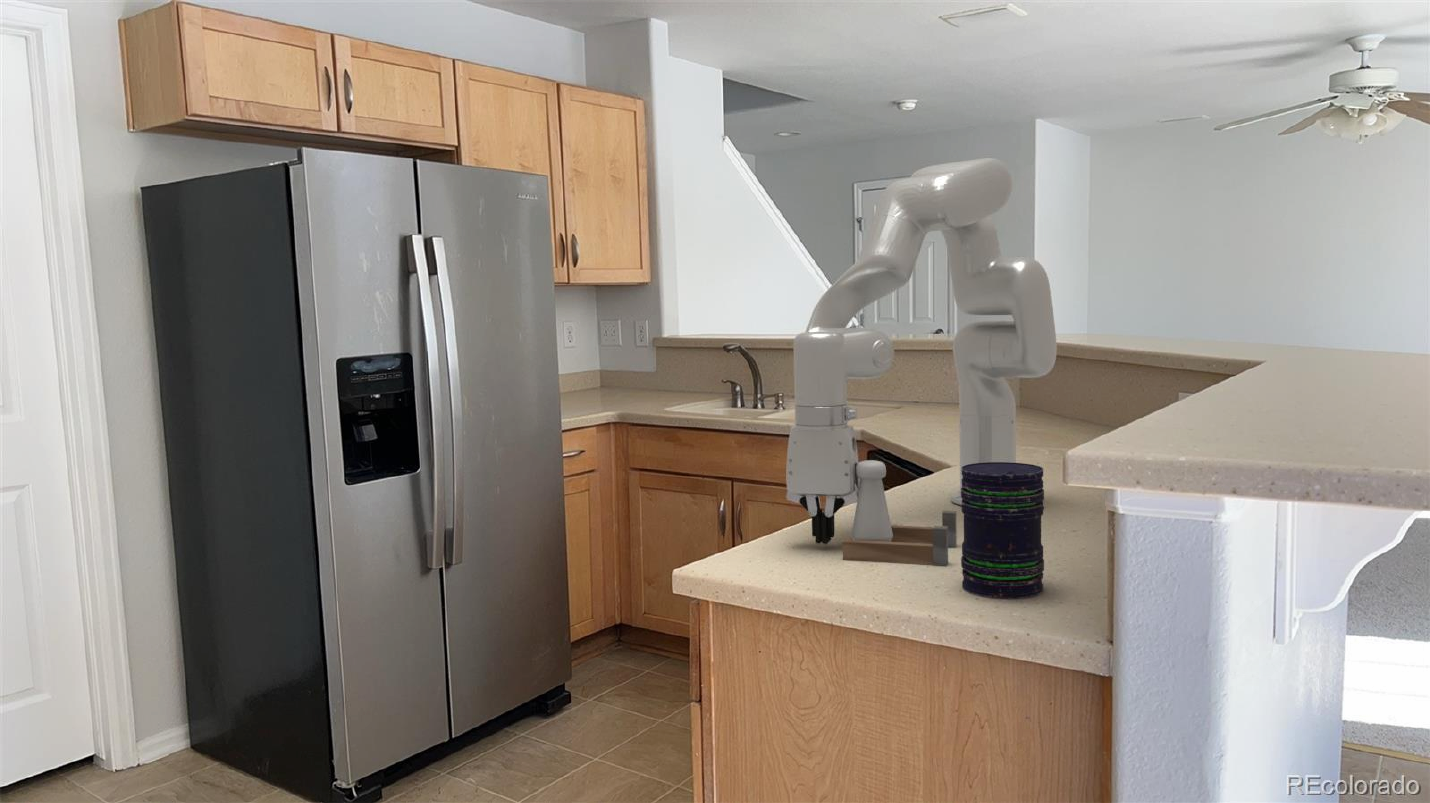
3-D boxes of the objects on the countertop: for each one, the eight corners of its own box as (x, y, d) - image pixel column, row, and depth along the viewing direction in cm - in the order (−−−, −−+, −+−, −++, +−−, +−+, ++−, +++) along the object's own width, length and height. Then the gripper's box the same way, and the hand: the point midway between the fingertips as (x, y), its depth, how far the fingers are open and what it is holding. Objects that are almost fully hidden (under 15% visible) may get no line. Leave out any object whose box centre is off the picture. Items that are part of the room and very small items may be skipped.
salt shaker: (900, 549, 145) (899, 460, 144) (878, 557, 141) (876, 465, 140) (866, 543, 149) (865, 457, 148) (844, 551, 145) (842, 462, 144)
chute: (860, 539, 152) (859, 507, 151) (956, 544, 147) (956, 510, 146) (842, 559, 140) (842, 524, 140) (946, 565, 136) (946, 529, 135)
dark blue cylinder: (950, 578, 129) (950, 463, 128) (1025, 575, 130) (1025, 460, 128) (976, 601, 119) (976, 476, 118) (1057, 597, 120) (1057, 473, 119)
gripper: (877, 414, 147) (879, 538, 148) (778, 413, 152) (781, 533, 153) (867, 420, 140) (869, 550, 141) (763, 419, 145) (767, 545, 146)
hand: (823, 541), depth 147 cm, fingers closed
